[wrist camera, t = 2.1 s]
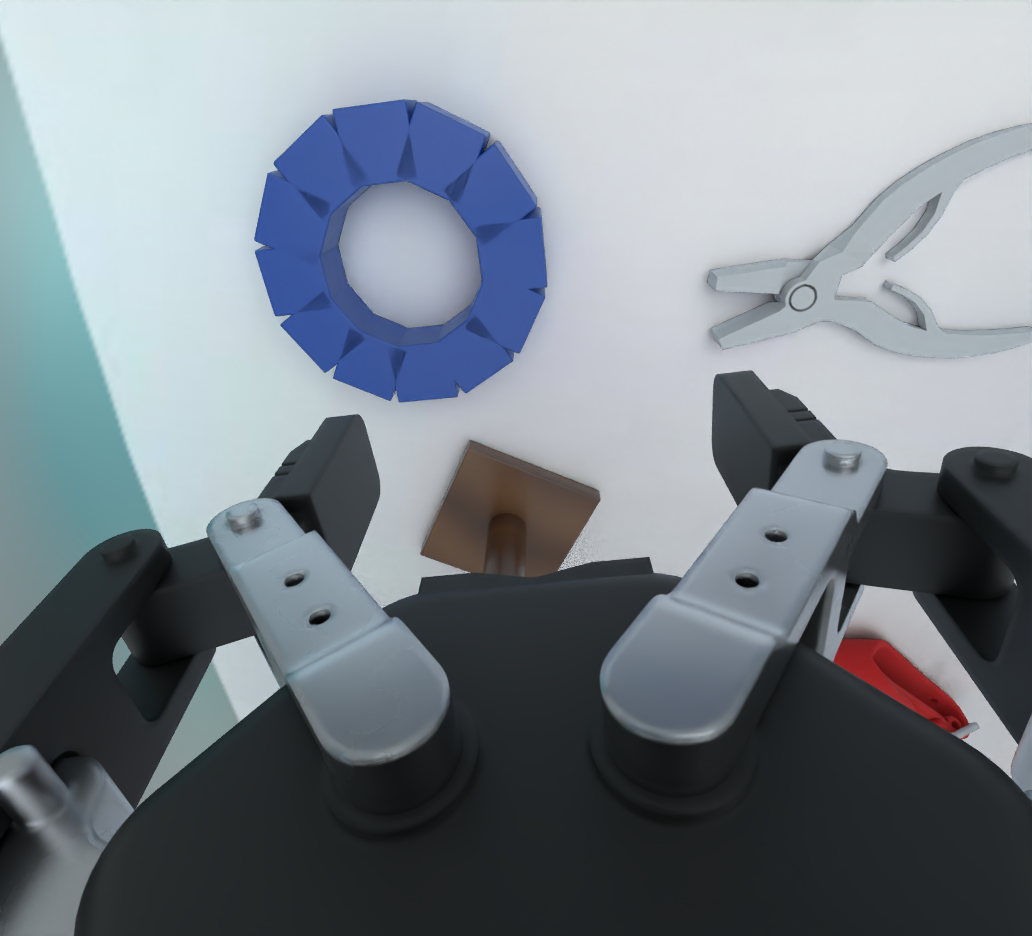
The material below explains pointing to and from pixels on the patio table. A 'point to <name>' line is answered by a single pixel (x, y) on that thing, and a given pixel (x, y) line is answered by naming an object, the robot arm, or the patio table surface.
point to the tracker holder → (902, 682)
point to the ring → (319, 269)
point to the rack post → (507, 516)
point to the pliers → (815, 282)
